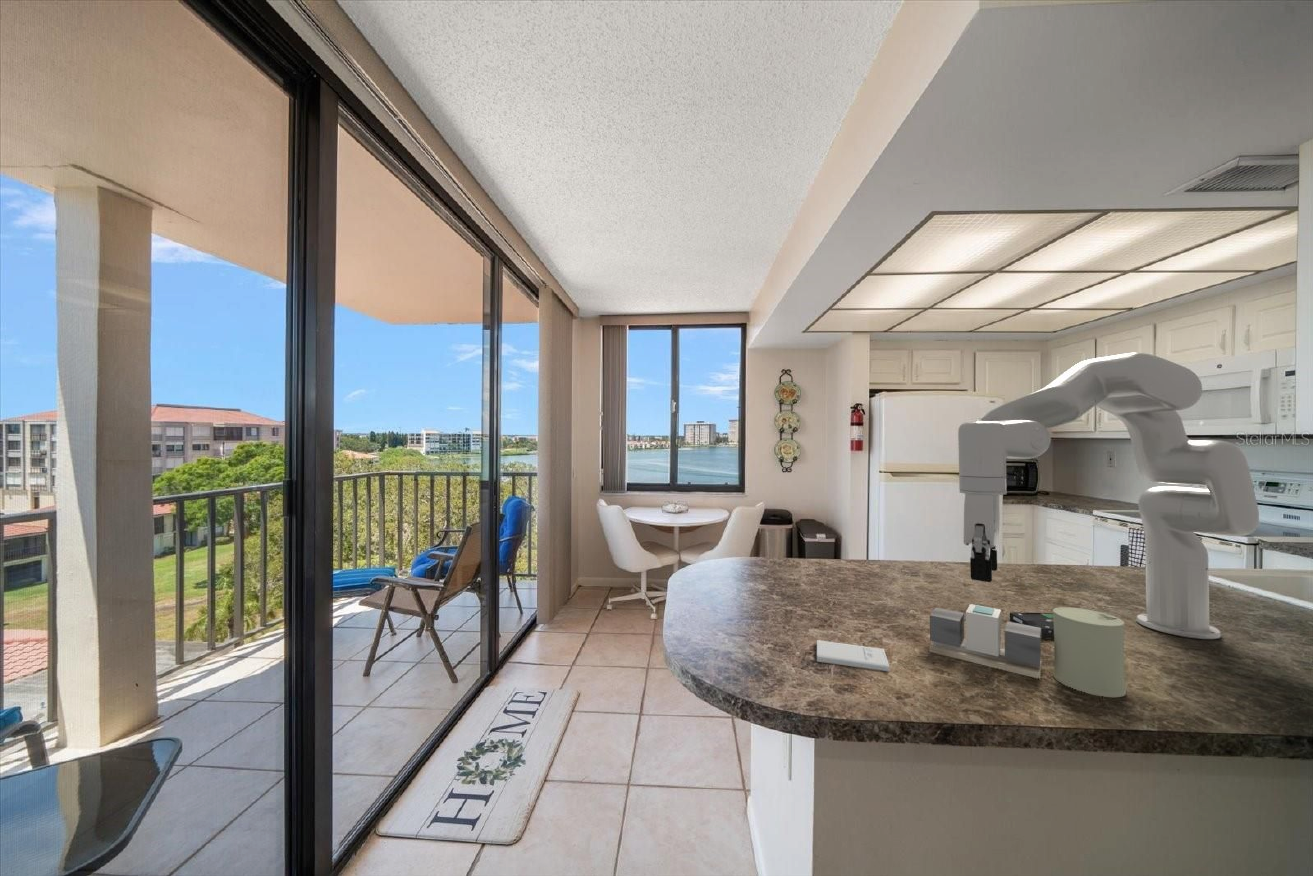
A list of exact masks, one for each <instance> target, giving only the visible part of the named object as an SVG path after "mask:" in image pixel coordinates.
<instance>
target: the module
mask: <svg viewBox="0 0 1313 876" xmlns="http://www.w3.org/2000/svg"><path fill="white" fill-rule="evenodd" d="M965 640H966V649H968V650H972V651H976V652H981V653H985V654H989V655H993V656H999V653H1000V650H1001V649H1002V645H1003V644H1002V609H999V608H994V607H989V606H984V605H983V606H982V605H977V604H973V603H972V604H971V603H970V604H969V606H968V608H967V609H966V611H965Z"/></svg>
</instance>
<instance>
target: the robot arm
mask: <svg viewBox="0 0 1313 876" xmlns="http://www.w3.org/2000/svg"><path fill="white" fill-rule="evenodd" d="M1202 395H1203V384H1202V381H1201V378H1200V377H1199V376H1198V375H1197V374H1196V373H1195V372H1194V371H1192V370H1191V369H1190V368H1188V367H1185V366H1184V365H1181V364H1178V363H1176V362H1174V361H1173V362H1172V361H1170V360H1169V359H1166V358H1163V357H1160V356H1156V355H1153V354H1149V353H1145V352H1144V353H1143V352H1129V353H1122V354H1116V355H1110V356H1109V355H1108V356H1102V357H1096V358H1092V359H1091V358H1090V359H1087V360H1083V361H1080V362H1079V363H1077V364H1075V365H1074V366H1072V367H1070V368H1069V369H1068V370H1067V371H1065V372H1064V373H1062V374H1061V375H1060V376H1058V377H1057V378H1055V379H1054V380H1052V381H1051V382H1050V383H1048V384H1047V385H1045V386H1044V387H1043V388H1041V389H1039V390H1037V391H1034V392H1031V393H1029V394H1026V395H1024V396H1021V397H1019V398H1017V399H1015V400H1011V401H1009V402H1007V403H1003V404H1001V405H999V406H997V407H996V408H995V407H994V408H993V409H991V410H990V411H988V412H986V413H985V414H984V415H982V416H981V417H979V418H978V419H976V420H975V421H968V422H964V423H962V424H960V425H959V427H958V433H957V436H958V437H957V439H958V475H959V476H958V481H959V482H958V485H959V489H958V490H959V493H960V494H964V502H963V503H964V504H963V505H964V506H963V544H964V545H965V546H969V545H970V544H971V550H970V552H971V553H970V557H969V558H970V559H969V560H970V561H969V563H970V567H969V568H970V579H971V580H973V581H978V582H984V583H985V582H986V583H991V582H992V580H993V574H992V573H993V572H992V571H994V572H996V571H997V570H998V551H997V550H996V548H997V543H998V542H999V535H1000V519H1001V517H1000V496H1003V495H1007V494H1008V492H1007V488H1008V487H1007V486H1008V485H1007V459H1009V460H1011V459H1012V460H1013V459H1014V460H1026V459H1027V460H1028V459H1029V460H1030V459H1034V458H1037V457H1039V456H1042V455H1043V454H1045V453H1046V451H1047V450H1048V449H1049V448H1050V445H1051V442H1052V437H1051V434H1050V431H1049V430H1048V429H1052V428H1055V427H1060V426H1063V425H1067V424H1071V423H1073V422H1075V421H1077V420H1079V419H1080V418H1081V417H1083V415H1084V414H1086V413H1087V412H1089V411H1090V410H1091V409H1093V408H1094V407H1097V408H1098V409H1100V410H1102V411H1105V412H1107V413H1109V414H1111V415H1114V416H1115V418H1118V419H1119V420H1120V421H1121V422H1122V423H1123V424H1124V425H1125V427H1126V429H1127V431H1128V434H1129V439H1130V442H1131V446H1132V451H1133V453H1134V457H1135V459H1134V460H1135V462H1136V465H1137V468H1138V471H1139V473H1140V475H1141V477H1143V479H1145V480H1146V481H1149V482H1152V483H1153V482H1154V483H1158V484H1169V485H1161V486H1153V487H1150V488H1148V489H1146V490H1144V491H1143V492H1142V493H1141V494H1140V495H1139V498H1138V500H1137V501H1138V512H1139V515H1140V519H1141V523H1142V527H1143V532H1144V533H1143V535H1144V546H1145V548H1144V549H1145V552H1144V553H1145V555H1144V556H1145V559H1144V560H1145V607H1146V608H1145V610H1146V613H1141V614H1137V615H1136V621H1137V623H1139V624H1140V625H1142V626H1143V627H1145V628H1146V627H1147V628H1149V629H1150V630H1154V631H1158V632H1162V633H1165V634H1169V635H1173V636H1179V637H1184V638H1190V639H1198V640H1199V639H1200V640H1216V639H1220V638H1221V637H1222V635H1221V630H1219V629H1218V628H1216V627H1215V626H1213V625H1210V587H1209V586H1210V585H1209V583H1210V581H1209V553H1208V550H1207V548H1206V546H1205V545H1204V543H1203V542H1202V540H1201V539H1200V538H1199V536H1197V534H1195V533H1202V534H1210V535H1217V536H1218V535H1219V536H1224V537H1225V536H1227V537H1244V536H1248V535H1251V534H1252V533H1254V532H1255V531H1256V529H1257V528H1258V525H1259V521H1260V512H1259V506H1258V502H1257V497H1256V493H1255V490H1254V489H1255V488H1254V485H1253V480H1252V476H1251V471H1250V467H1249V464H1248V460H1247V458H1246V455H1245V454H1244V452H1243V451H1242V450H1241V448H1239V447H1238V446H1237V445H1235V444H1234V443H1231V442H1228V441H1226V440H1219V439H1217V440H1216V439H1214V440H1213V439H1203V440H1202V439H1196V440H1195V439H1190V438H1189V437H1188V436H1187V433H1186V431H1185V427H1184V423H1183V420H1182V418H1181V416H1180V415H1179V413H1178V412H1177V411H1181V410H1182V411H1183V410H1186V409H1189V408H1191V407H1193V406H1194V405H1196V404H1197V403H1198V401H1200V400H1201V399H1200V398H1201V397H1202ZM1171 484H1172V485H1171ZM1174 485H1176V486H1174ZM1177 485H1189V486H1177ZM1191 486H1193V487H1191ZM1194 486H1202V487H1203V488H1202V487H1201V488H1199V487H1194ZM1204 487H1206V488H1204Z"/></svg>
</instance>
